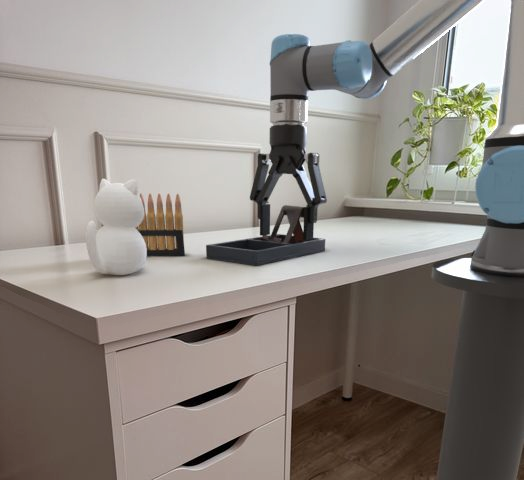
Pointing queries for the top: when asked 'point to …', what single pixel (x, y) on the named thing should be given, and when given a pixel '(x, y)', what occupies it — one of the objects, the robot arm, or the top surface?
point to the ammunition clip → (163, 228)
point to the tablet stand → (293, 217)
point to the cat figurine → (117, 229)
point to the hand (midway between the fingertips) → (285, 237)
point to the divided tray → (262, 250)
